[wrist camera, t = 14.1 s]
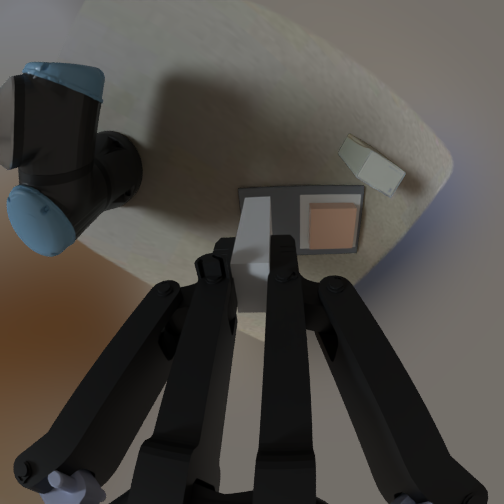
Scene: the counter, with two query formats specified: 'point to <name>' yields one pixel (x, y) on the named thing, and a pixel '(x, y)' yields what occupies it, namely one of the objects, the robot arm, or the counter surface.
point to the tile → (331, 225)
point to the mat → (305, 210)
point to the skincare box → (371, 166)
